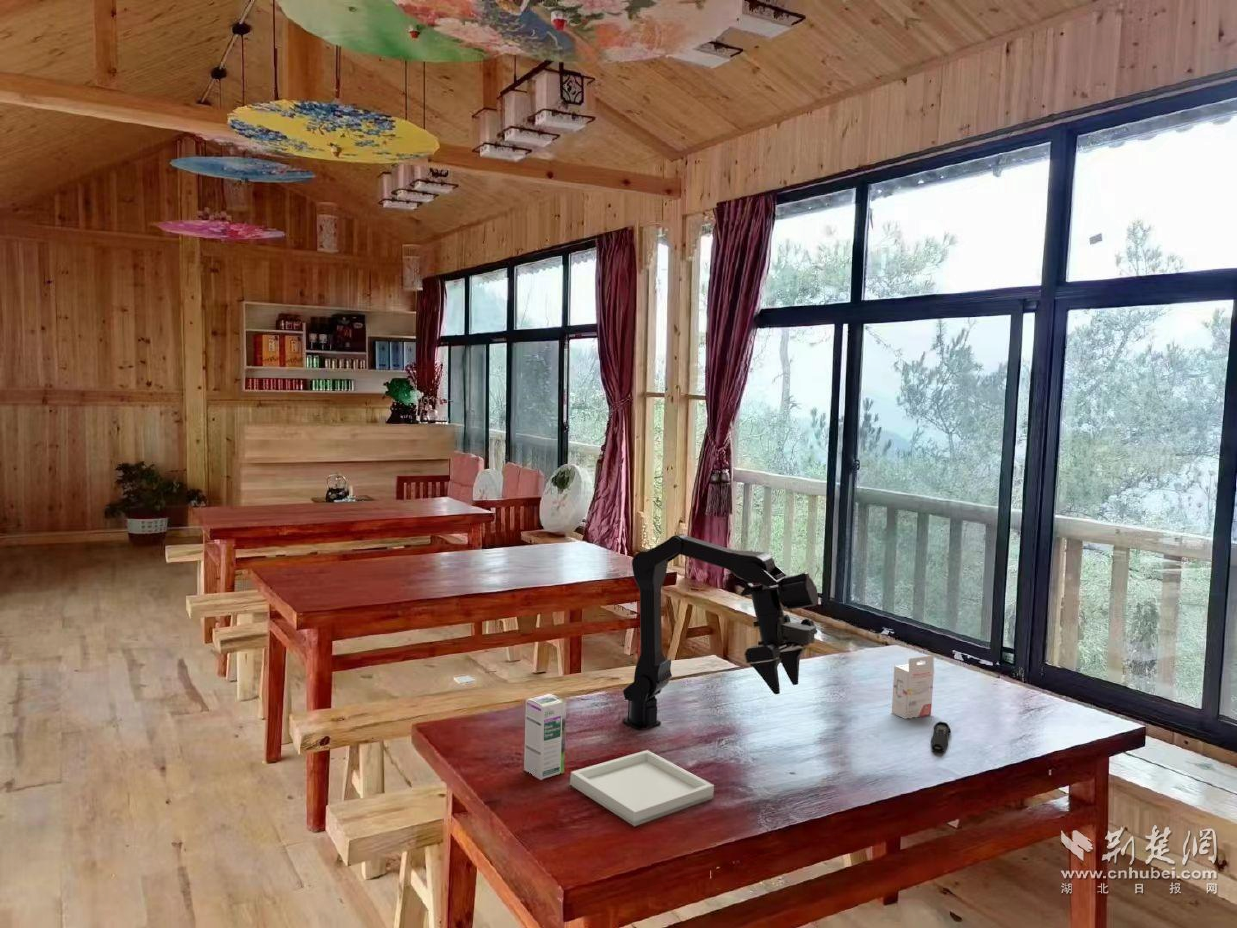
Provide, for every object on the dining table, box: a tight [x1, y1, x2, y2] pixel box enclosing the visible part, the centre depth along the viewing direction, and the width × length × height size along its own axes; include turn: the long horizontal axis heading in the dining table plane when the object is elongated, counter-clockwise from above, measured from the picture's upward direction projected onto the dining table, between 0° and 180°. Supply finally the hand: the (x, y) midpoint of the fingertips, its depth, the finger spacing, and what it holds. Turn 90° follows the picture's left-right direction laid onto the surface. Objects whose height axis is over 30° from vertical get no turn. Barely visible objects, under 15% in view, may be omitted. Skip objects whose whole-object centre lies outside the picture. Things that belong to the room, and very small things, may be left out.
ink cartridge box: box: [891, 655, 935, 720], centre depth 211 cm, size 9×5×15 cm, turn 117°
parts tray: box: [569, 749, 715, 827], centre depth 163 cm, size 19×19×2 cm
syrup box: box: [523, 693, 567, 781], centre depth 170 cm, size 6×6×14 cm
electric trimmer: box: [930, 721, 952, 753], centre depth 194 cm, size 4×16×3 cm, turn 155°
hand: (786, 689), depth 179 cm, fingers open, 9 cm apart
